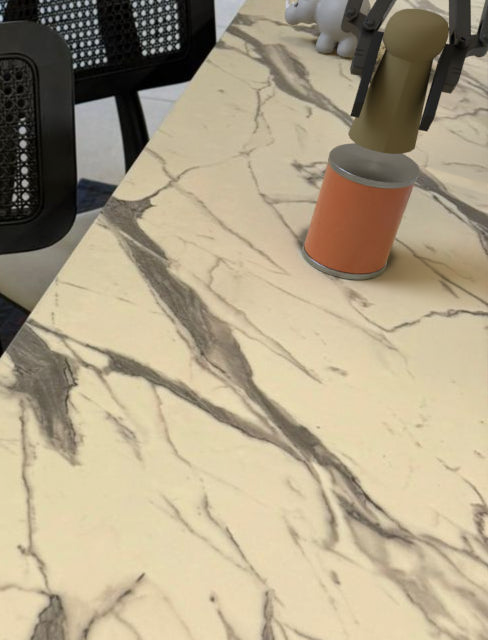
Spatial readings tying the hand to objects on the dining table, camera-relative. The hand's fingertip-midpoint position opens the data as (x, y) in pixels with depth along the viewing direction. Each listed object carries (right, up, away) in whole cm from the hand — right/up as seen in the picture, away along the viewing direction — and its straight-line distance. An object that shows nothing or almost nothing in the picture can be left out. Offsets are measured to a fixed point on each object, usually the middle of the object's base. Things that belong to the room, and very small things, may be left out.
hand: (391, 116), depth 88 cm
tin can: (0, -9, +13) cm, 16 cm away
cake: (+19, +24, +52) cm, 60 cm away
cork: (+1, 0, +5) cm, 5 cm away
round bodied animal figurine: (+11, +31, +59) cm, 68 cm away
